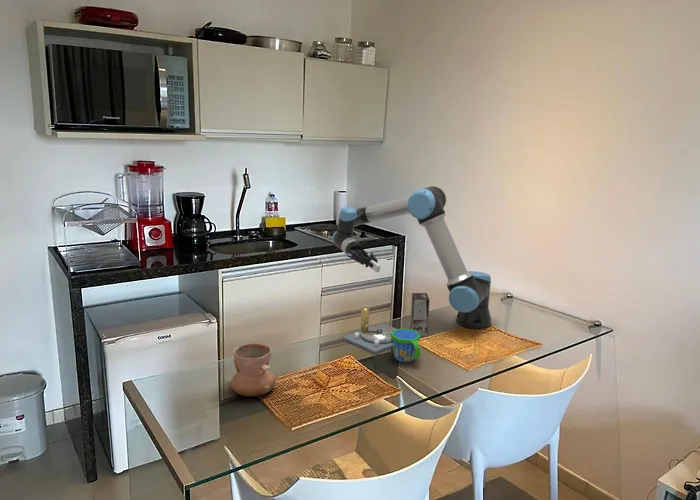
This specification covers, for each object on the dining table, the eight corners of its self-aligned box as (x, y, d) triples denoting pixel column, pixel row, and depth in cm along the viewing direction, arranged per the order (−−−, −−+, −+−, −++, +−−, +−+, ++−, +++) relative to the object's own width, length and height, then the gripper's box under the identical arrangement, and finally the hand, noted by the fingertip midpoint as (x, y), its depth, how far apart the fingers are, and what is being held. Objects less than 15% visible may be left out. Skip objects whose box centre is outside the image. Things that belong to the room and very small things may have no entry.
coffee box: (427, 336, 220) (429, 299, 216) (412, 336, 220) (413, 299, 216) (425, 328, 228) (427, 292, 225) (410, 327, 229) (411, 292, 225)
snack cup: (427, 365, 194) (429, 339, 192) (402, 370, 190) (403, 344, 187) (406, 348, 208) (407, 324, 205) (382, 352, 204) (383, 328, 201)
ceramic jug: (286, 392, 174) (286, 351, 170) (249, 407, 164) (247, 364, 161) (255, 373, 186) (254, 335, 183) (219, 387, 176) (217, 347, 173)
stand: (414, 338, 218) (414, 329, 217) (375, 354, 202) (375, 345, 201) (382, 325, 230) (382, 317, 229) (343, 339, 215) (343, 331, 214)
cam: (405, 336, 216) (406, 309, 213) (379, 346, 206) (380, 318, 203) (378, 325, 226) (379, 300, 223) (353, 334, 216) (353, 308, 213)
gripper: (363, 257, 241) (389, 278, 221) (338, 255, 234) (362, 276, 215) (367, 242, 239) (394, 261, 219) (342, 239, 232) (367, 259, 213)
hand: (378, 269), depth 217 cm, fingers closed
